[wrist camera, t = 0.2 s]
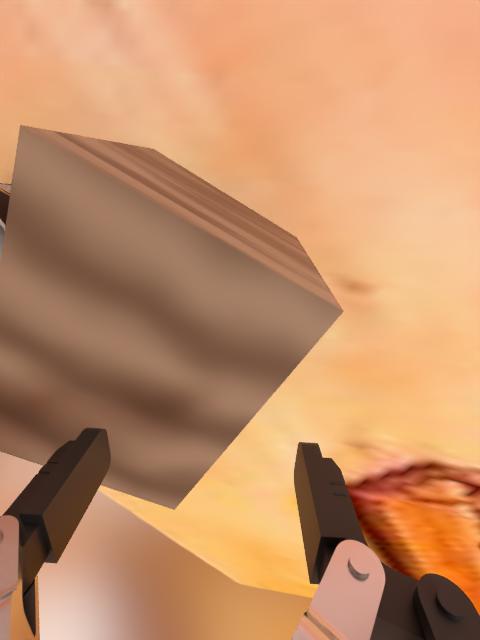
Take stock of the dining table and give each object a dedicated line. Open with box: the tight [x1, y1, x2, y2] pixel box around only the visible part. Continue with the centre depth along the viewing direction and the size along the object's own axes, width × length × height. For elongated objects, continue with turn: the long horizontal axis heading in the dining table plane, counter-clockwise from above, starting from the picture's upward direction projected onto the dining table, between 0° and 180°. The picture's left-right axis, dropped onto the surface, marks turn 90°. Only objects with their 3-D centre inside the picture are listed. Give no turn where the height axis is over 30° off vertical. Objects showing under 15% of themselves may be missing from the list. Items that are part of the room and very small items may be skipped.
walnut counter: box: [0, 125, 343, 510], centre depth 25 cm, size 22×16×17 cm
